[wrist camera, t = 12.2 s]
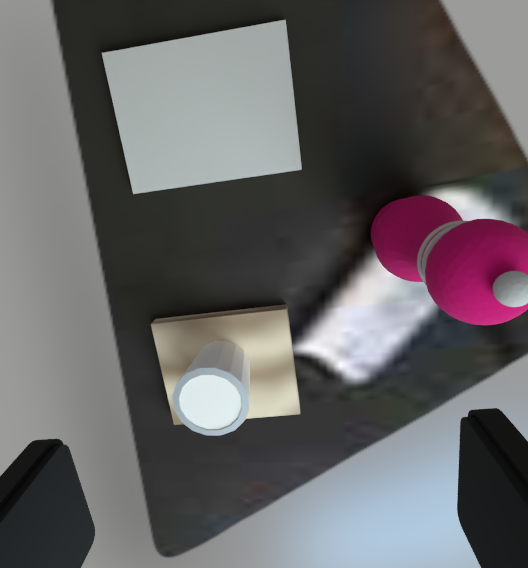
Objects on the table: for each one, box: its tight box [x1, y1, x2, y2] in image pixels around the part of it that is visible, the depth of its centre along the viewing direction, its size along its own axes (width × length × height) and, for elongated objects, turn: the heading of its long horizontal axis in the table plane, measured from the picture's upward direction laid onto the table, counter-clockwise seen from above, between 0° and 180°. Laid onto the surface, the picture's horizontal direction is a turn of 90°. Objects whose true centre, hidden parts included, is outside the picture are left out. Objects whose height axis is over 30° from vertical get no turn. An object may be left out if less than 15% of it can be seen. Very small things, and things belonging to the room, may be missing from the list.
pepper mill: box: [371, 195, 528, 325], centre depth 28 cm, size 7×7×20 cm
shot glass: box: [172, 341, 250, 435], centre depth 38 cm, size 7×7×7 cm
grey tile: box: [102, 20, 302, 194], centre depth 35 cm, size 12×16×1 cm
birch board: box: [151, 304, 300, 425], centre depth 42 cm, size 12×14×2 cm
